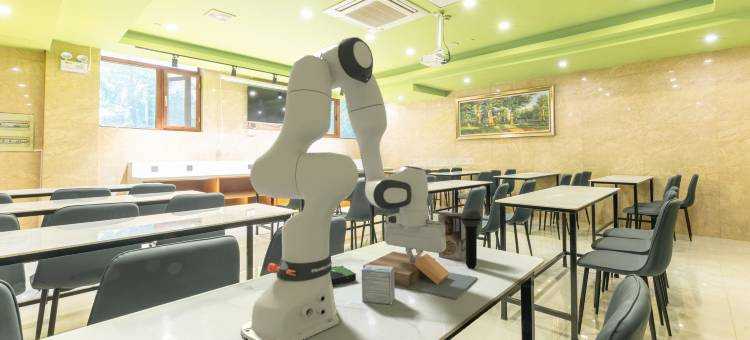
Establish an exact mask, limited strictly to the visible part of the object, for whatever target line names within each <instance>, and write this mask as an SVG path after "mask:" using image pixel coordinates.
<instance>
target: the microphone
mask: <svg viewBox="0 0 750 340" xmlns="http://www.w3.org/2000/svg"><path fill="white" fill-rule="evenodd" d="M461 213H462V215H461V221H462V223H463V224H464V225H465V229H466V230H465V258H464V259H465V265H466V267H467V269H469V270H473V269H475V268H476V266H477V260H478V258H477V257H478V255H477V253H478V252H477V250H478V249H477V247H478V245H477V241H478V240H477V238H478V234H477V231H478V226H479V225H480V224H481V221H482V216H481V214H480V212H479V211H478V210H477V209H475V208H467V209H465V210H463V212H461Z"/></svg>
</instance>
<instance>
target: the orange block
mask: <svg viewBox="0 0 750 340" xmlns="http://www.w3.org/2000/svg"><path fill="white" fill-rule="evenodd" d="M421 256H422V257H420V258H418V259H417V260H416V262H415V263H414V265H415V266H416V267H417V268H419V269H420V270H421V271H422V272H423V273H424V274H425V275H427V276H428V277H429V278H430V279H431V280H432V281H433V282H435V283H436V284H437V285H438V284H439V283H441V282H442V281H443V280H445V279H446V278H447V277H448V275H449V274H450V272H451V271H448V270H447V269H446V268H445V267H444V266H443V265H442V264H441V263H440V262H438V261H436V259H435V258H434V257H432V256H431V255H429V254H428V253H425V254H424V255H421ZM433 258H434V259H435V260H434V259H433Z"/></svg>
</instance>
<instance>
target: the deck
mask: <svg viewBox="0 0 750 340" xmlns="http://www.w3.org/2000/svg"><path fill="white" fill-rule="evenodd" d="M413 255H414V256H416V255H417V254H416V255H415V254H413ZM422 256H423V255H421V256H420V257H422ZM432 258H433V259H434V260H435V261H436V258H434V257H432ZM366 265H376V266H389V267H394V287H395V286H396V287H400V288H403V289H408V290H410V289H409V287H410V286H411V285H413V284H414V283H416V282H417V281H419V280H420V279H422V278H423V277H425V276H426V275H425V274H424V273H423V272H422V271H421V270H420V269H419V268H417V267H416V266H415V265H414V263H412V262H409V256H408V254H407V253H404V252H398V251H391V252H390V253H387V254H385V255H383V256H381V257H379V258H376V259H374V260H372V261H370V262H368V263H365V264H363V265H362V269H363V268H364V267H365V266H366Z"/></svg>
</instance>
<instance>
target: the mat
mask: <svg viewBox="0 0 750 340" xmlns="http://www.w3.org/2000/svg"><path fill="white" fill-rule="evenodd" d="M449 272H450V274H449V275H448V277H447V278H446V279H445V280H443V281H442V282H441V283H439V284H438V285H437V284H436V283H435V282H433V281H432V280H431V279H430V278H429V277H428V276H427V275H426V276H425V277H423V278H422V279H420V280H419V281H417V282H416V283H414V284H413V285H411V286H410V287H409V289H408V290H413V291H416V292H421V293H425V294H430V295H435V296H439V297H443V298H447V299H451V300H457V299H458V298H459V297H461V296H462V294H464V292H466V291H467V290H468V289H469V288H470V287H471V286H472V285H473V284H474V283H475V282H476V281H477V280H478V277H476V276H471V275H466V274H460V273H456V272H451V271H449Z"/></svg>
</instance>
